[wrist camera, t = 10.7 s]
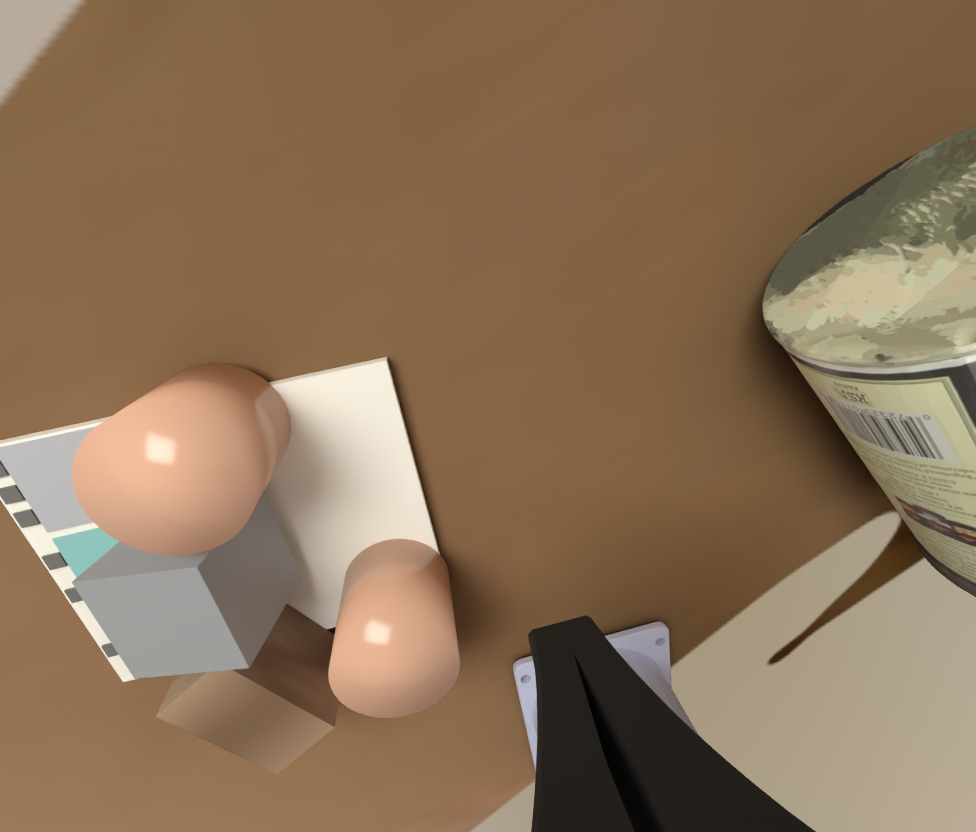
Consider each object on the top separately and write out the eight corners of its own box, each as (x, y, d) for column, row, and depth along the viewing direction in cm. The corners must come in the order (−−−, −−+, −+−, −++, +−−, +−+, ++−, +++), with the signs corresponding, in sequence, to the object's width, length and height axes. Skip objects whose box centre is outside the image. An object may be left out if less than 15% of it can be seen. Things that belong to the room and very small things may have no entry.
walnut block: (344, 641, 21) (334, 727, 18) (296, 681, 22) (276, 774, 18) (251, 580, 19) (218, 662, 16) (199, 625, 20) (155, 716, 16)
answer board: (449, 589, 22) (450, 599, 21) (129, 671, 21) (121, 684, 20) (386, 356, 18) (385, 361, 17) (-20, 444, 16) (-35, 452, 16)
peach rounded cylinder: (458, 608, 22) (470, 698, 17) (360, 633, 21) (350, 731, 17) (436, 527, 20) (445, 606, 16) (330, 553, 20) (310, 641, 15)
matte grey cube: (301, 578, 19) (249, 667, 15) (207, 589, 19) (134, 678, 16) (264, 490, 17) (196, 567, 14) (163, 504, 18) (71, 582, 14)
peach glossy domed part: (307, 463, 18) (278, 533, 14) (187, 491, 18) (120, 571, 14) (266, 350, 16) (218, 392, 12) (132, 379, 16) (36, 431, 12)
